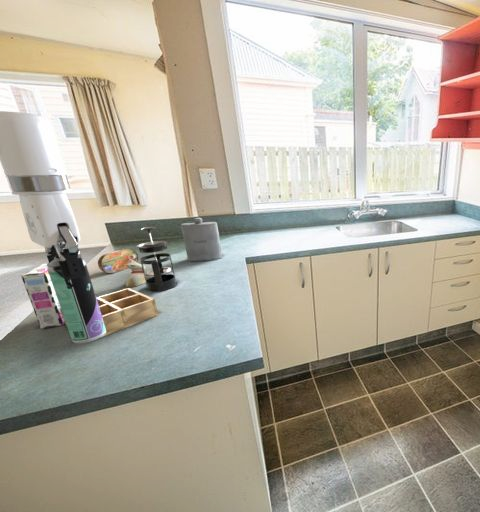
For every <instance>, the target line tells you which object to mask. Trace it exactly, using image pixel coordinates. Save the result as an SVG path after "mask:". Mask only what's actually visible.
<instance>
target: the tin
mask: <svg viewBox="0 0 480 512" xmlns="http://www.w3.org/2000/svg"><path fill="white" fill-rule="evenodd" d="M129 260H133V261H135V262H137V263H139V255H138V253H137V251H136V250H134V249H132V248H122V249H119V250H114V251H112V252H108V253H105V254H102V255H101V256H100V257H99V258H98V259H97V267H98V268H99V270H100V271H101V272H103V273H106V274H107V273H108V274H115V273H119V272H121V271H125V270H127V269H129V268H128V267H127V264H128V263H129Z"/></svg>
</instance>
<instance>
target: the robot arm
mask: <svg viewBox="0 0 480 512" xmlns="http://www.w3.org/2000/svg"><path fill="white" fill-rule="evenodd" d="M0 164H1V167H2V169H3V172H4V175H5V178H6V181H7V183H8V187H9V189H10V192H11V195H14V196H17V195H18V197H19V198H18V199H19V203H20V207H21V211H22V214H23V215H22V216H23V219H24V222H25V224H26V228H27V231H28V235H29V238H30V240H31V242H33V243H35V244H37V245H39V246H41V247H44V251H45V253H46V258H47V261H48V263H50V262H51V261H53V260H54V257H56V255H57V254H56V252H57V253H58V256H59V258H60V260H61V261H58V262H59V265H60V268H61V271H62V274H63V277H64V279H65V280H71V279H75V278H79V277H84V276H86V275H87V274H86V270H85V267H84V264H83V261H82V258H83V257H82V255H81V252H80V249H79V243H80V242H81V240H82V239H81V234H80V230H79V227H78V224H77V220H76V218H75V215H74V212H73V209H72V207H71V203H70V201H69V199H68V196H67V194H68V193H72V189H71V186H70V182H69V178H68V175H67V172H66V168H65V165H64V163H63V158H62V155H61V152H60V149H59V146H58V142H57V138H56V135H55V132H54V128H53V125H52V123H51V122H50V120H49V119H48V118H46V117H44V116H43V115H39V114H34V113H29V112H28V113H27V112H19V111H2V110H0ZM62 250H64V251H62ZM63 252H64V253H63Z"/></svg>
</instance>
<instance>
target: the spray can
mask: <svg viewBox="0 0 480 512" xmlns="http://www.w3.org/2000/svg"><path fill="white" fill-rule="evenodd" d="M62 251H64V250H62ZM63 253H64V252H63ZM56 254H57V255H56V257H54V260H53V261H51V262H50V263H49V262H48V263H46V264H47V267H48V268H47V270H48V273H49V276H50V279H51V281H52V284H53V287H54V290H55V293H56V296H57V299H58V301H59V304H60V307H61V310H62V313H63V316H64V319H65V321H66V324H67V326H66V327H67V330H68V333H69V336H70V338H71V341H72V343H74V344H86V343H90V342H94V341H97V340H99V339H101V338H103V337H105V336H104V335H105V334H106V328H105V325H104V322H103V318H102V315H101V312H100V308H99V305H98V302H97V299H96V298H97V295H96V292H95V289H94V285H93V282H92V280H91V276H90V273H89V270H88V266H87V263H86V261H85V258H83V257H82V261H83V264H84V267H85V270H86V274H87V275H86V276H84V277H79V278H75V279H71V280H65V279H64V277H63V274H62V271H61V268H60V265H59V262H58V261H61V260H60V258H59V256H58V253H57V252H56ZM102 336H103V337H102ZM100 337H101V338H100Z"/></svg>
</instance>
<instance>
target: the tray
mask: <svg viewBox="0 0 480 512" xmlns="http://www.w3.org/2000/svg"><path fill="white" fill-rule="evenodd" d="M96 299H97V302H98V305H99V308H100V312H101V315H102V318H103V322H104V325H105V328H106V334H105V335H104V336H102V337H100V338H99V339H101V338H103V337H107V336H109V335H112V334H114V333H116V332H119V331H122V330H124V329H126V328H129V327H132V326H135V325H137V324H139V323H143V322H145V321H147V320H150V319H152V318H156V317H158V316H159V310H158V307H157V304H156V300H155V299H156V298H153V297H152V296H148V295H146V294H144V293H142V292H140V291H137V290H135V289H132V288H131V287H130V288H127V287H126V288H123V289H120V290H117V291H113V292H110V293H107V294H104V295H101V296H100V295H99V296H96ZM60 311H61V314H62V317H63V319H64V316H63V313H62V310H61V308H60ZM64 322H65V323H64V324H65V326H66V327H67V324H66V321H65V319H64Z"/></svg>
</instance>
